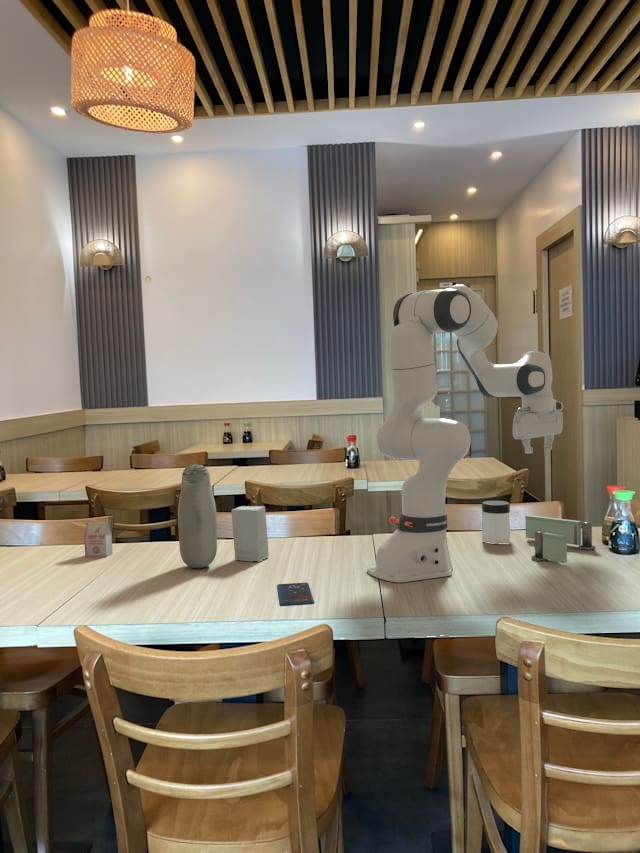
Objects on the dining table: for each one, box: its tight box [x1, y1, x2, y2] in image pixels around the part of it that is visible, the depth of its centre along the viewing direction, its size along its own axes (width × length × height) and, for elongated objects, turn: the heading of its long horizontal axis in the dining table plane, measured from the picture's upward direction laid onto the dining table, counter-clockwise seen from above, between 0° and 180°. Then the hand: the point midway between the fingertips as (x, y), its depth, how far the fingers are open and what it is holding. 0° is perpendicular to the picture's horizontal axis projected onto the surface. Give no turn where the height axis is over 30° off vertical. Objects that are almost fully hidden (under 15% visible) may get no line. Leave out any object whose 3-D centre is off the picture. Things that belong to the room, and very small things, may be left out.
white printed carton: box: [83, 521, 114, 558], centre depth 184 cm, size 4×7×10 cm, turn 82°
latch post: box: [530, 531, 549, 563], centre depth 166 cm, size 6×5×8 cm
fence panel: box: [542, 532, 568, 564], centre depth 162 cm, size 2×6×7 cm, turn 31°
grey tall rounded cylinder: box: [177, 463, 218, 569], centre depth 167 cm, size 10×10×28 cm
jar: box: [481, 500, 511, 544], centre depth 187 cm, size 9×8×12 cm
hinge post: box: [578, 521, 596, 551], centre depth 176 cm, size 4×4×8 cm
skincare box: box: [231, 505, 270, 563], centre depth 174 cm, size 8×6×15 cm
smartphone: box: [277, 582, 315, 607], centre depth 142 cm, size 8×1×15 cm
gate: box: [524, 514, 582, 546], centre depth 183 cm, size 16×2×7 cm, turn 46°
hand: (538, 451), depth 185 cm, fingers open, 8 cm apart
